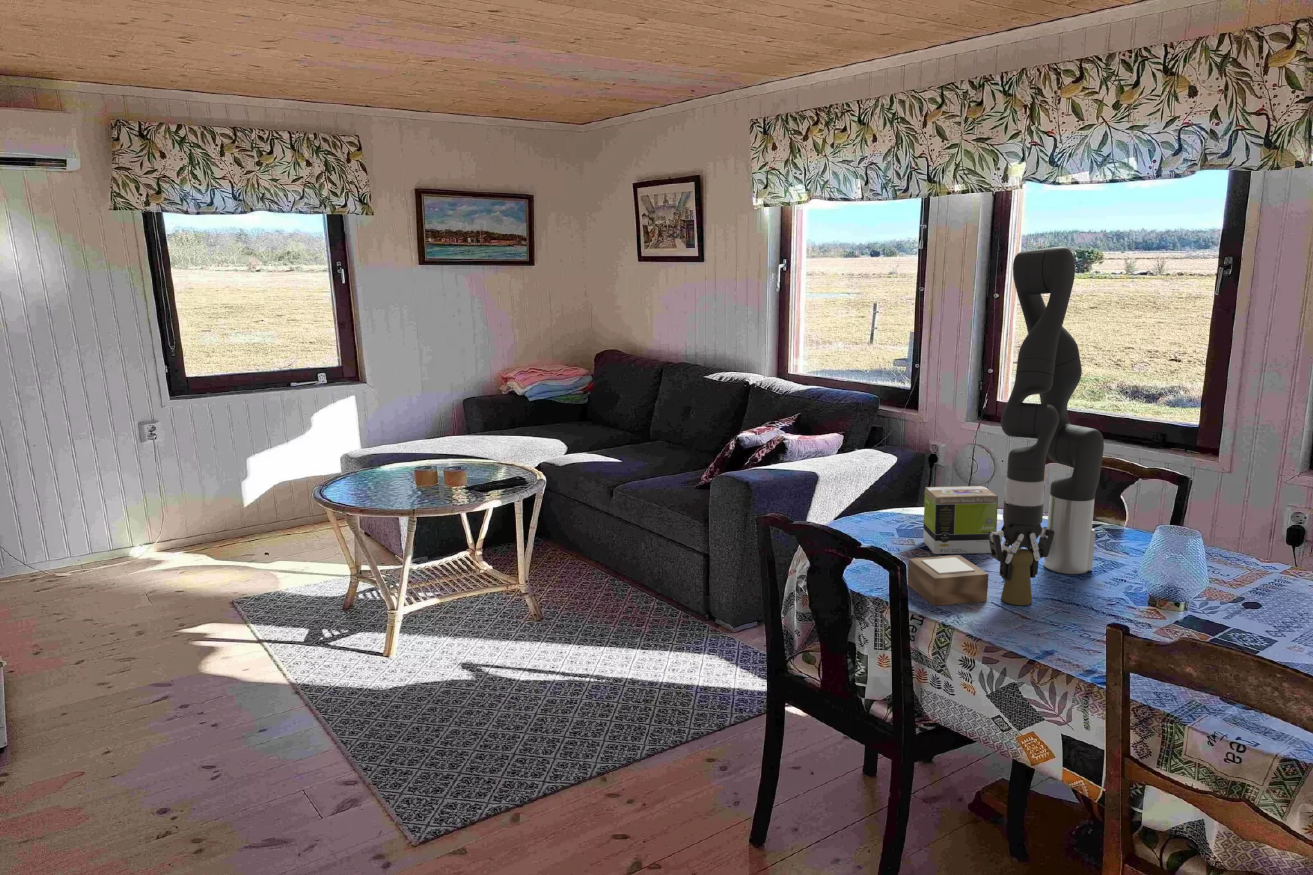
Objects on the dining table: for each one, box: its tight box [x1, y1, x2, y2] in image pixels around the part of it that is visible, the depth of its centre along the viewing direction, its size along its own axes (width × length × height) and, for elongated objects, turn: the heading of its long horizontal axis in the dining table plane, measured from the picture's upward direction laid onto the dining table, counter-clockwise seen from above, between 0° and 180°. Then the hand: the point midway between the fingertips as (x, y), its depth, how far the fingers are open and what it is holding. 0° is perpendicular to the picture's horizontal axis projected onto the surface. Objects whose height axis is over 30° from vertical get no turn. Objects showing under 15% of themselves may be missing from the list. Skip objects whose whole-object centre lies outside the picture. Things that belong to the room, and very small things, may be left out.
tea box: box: [922, 485, 999, 555], centre depth 215 cm, size 15×10×15 cm, turn 89°
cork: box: [1000, 547, 1033, 606], centre depth 182 cm, size 6×6×11 cm
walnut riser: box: [907, 554, 990, 607], centre depth 188 cm, size 12×12×6 cm
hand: (1018, 577), depth 183 cm, fingers closed on cork, 5 cm apart
